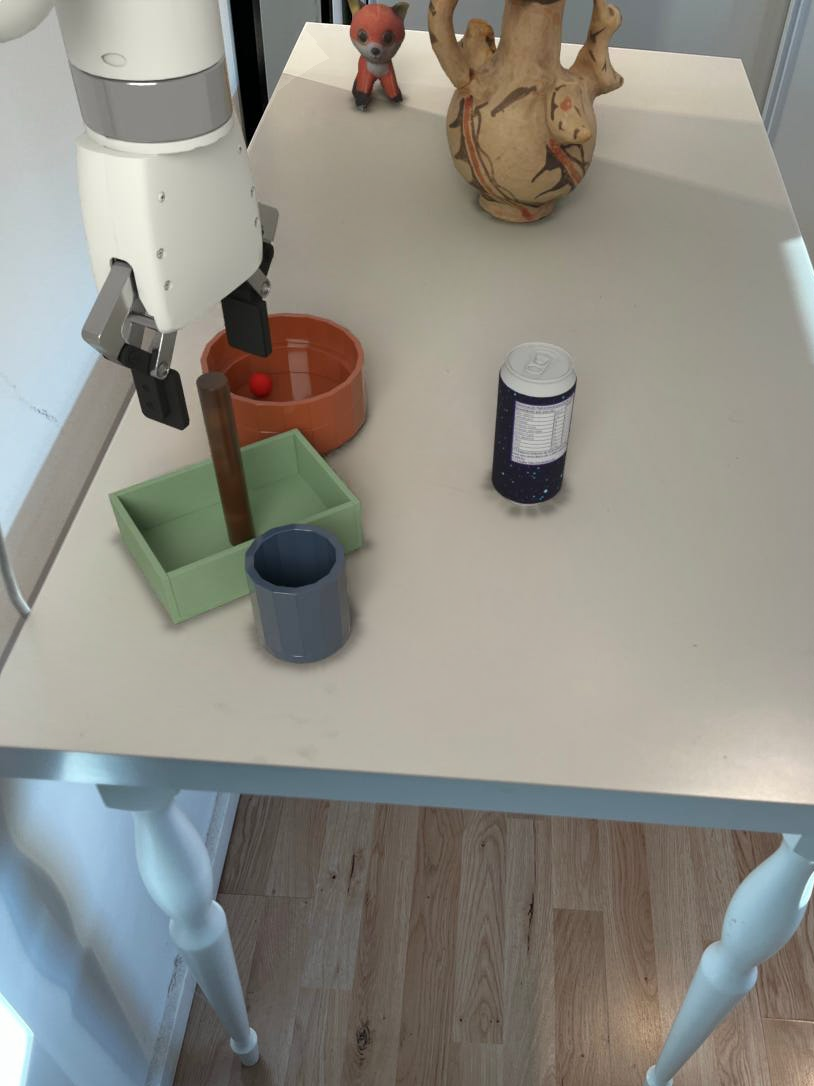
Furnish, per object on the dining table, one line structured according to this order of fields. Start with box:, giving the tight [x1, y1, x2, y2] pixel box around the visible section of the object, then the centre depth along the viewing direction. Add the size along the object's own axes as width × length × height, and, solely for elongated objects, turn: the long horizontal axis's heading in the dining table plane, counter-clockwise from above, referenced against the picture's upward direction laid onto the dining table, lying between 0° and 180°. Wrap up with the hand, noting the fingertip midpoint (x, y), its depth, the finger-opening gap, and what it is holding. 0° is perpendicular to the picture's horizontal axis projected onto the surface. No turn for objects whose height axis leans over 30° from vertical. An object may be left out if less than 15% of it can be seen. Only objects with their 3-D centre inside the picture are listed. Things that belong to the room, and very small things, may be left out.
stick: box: [195, 372, 256, 546], centre depth 68 cm, size 2×2×14 cm
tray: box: [107, 428, 364, 625], centre depth 72 cm, size 15×10×4 cm, turn 124°
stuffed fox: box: [347, 0, 410, 112], centre depth 123 cm, size 8×11×12 cm
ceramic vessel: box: [427, 0, 625, 224], centre depth 101 cm, size 18×19×25 cm
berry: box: [249, 373, 273, 397], centre depth 83 cm, size 2×2×2 cm
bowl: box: [199, 312, 368, 457], centre depth 81 cm, size 13×13×6 cm
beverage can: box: [491, 341, 578, 507], centre depth 74 cm, size 6×6×12 cm
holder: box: [245, 523, 352, 664], centre depth 66 cm, size 6×6×7 cm
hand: (210, 383), depth 63 cm, fingers open, 8 cm apart
